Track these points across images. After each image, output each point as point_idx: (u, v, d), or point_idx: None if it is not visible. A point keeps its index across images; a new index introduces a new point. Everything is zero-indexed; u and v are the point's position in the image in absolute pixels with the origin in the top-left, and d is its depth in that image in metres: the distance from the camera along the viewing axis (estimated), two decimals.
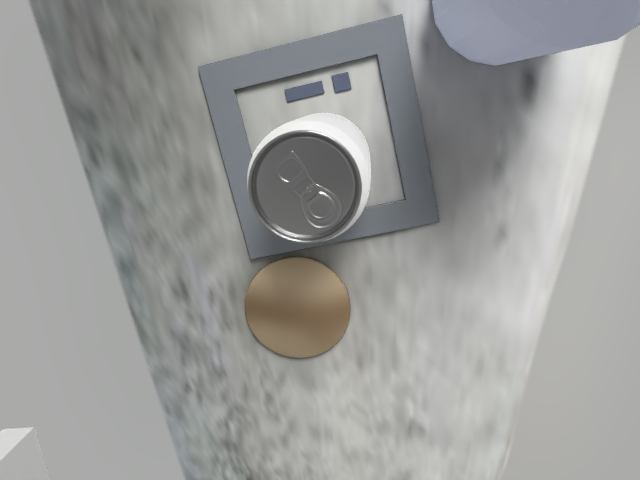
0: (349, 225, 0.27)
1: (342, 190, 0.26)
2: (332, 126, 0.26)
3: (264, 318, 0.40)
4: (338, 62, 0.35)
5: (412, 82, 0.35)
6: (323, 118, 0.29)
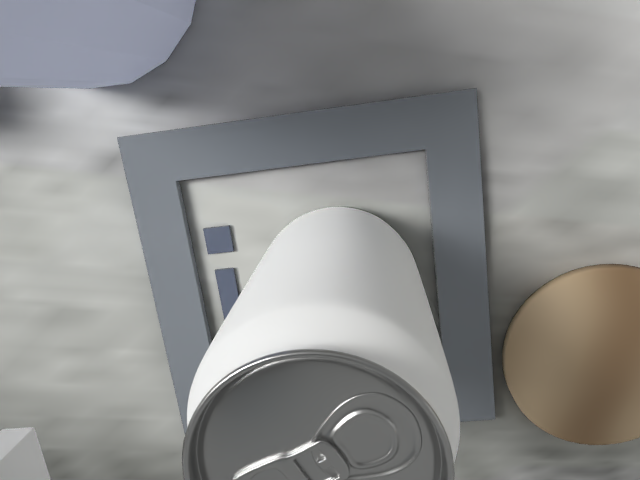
0: (427, 364, 0.11)
1: (330, 387, 0.11)
2: (199, 368, 0.12)
3: (611, 416, 0.22)
4: (186, 243, 0.22)
5: (222, 126, 0.21)
6: None
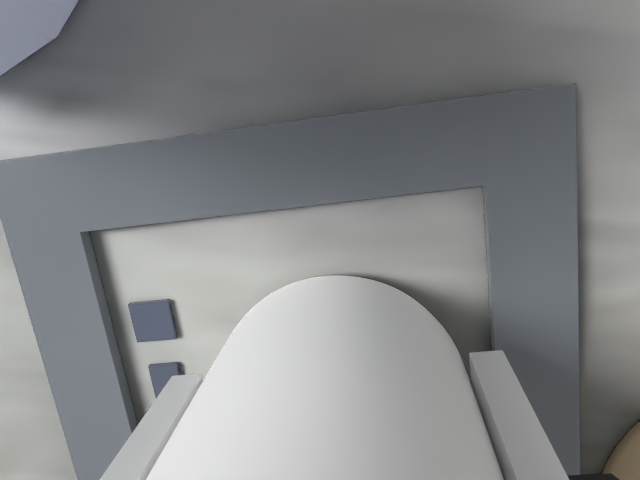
0: None
1: None
2: None
3: None
4: (102, 326, 0.14)
5: (150, 145, 0.13)
6: None
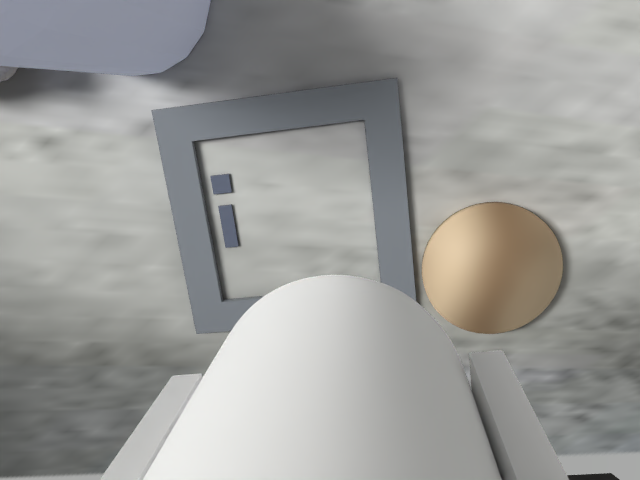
0: None
1: None
2: None
3: (498, 312, 0.32)
4: (198, 185, 0.31)
5: (224, 102, 0.30)
6: None
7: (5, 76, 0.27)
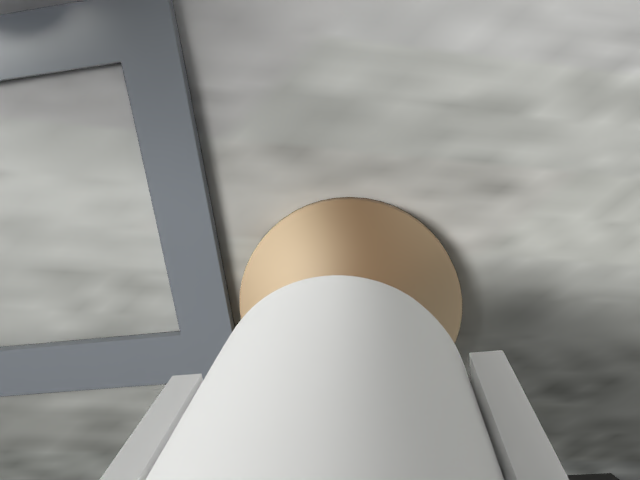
0: None
1: None
2: None
3: None
4: None
5: None
6: None
7: None
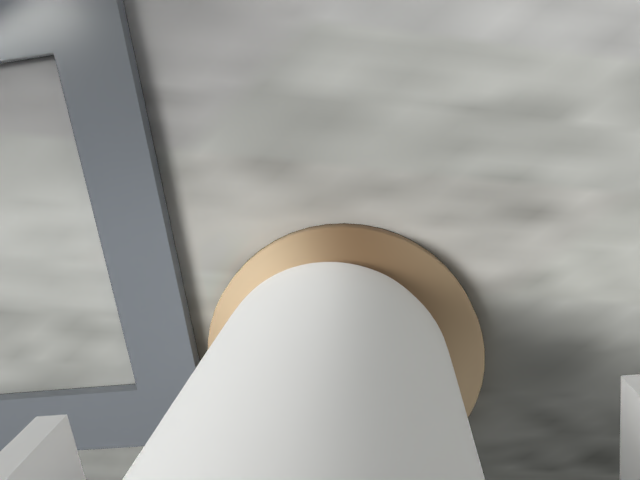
0: None
1: None
2: None
3: None
4: None
5: None
6: None
7: None
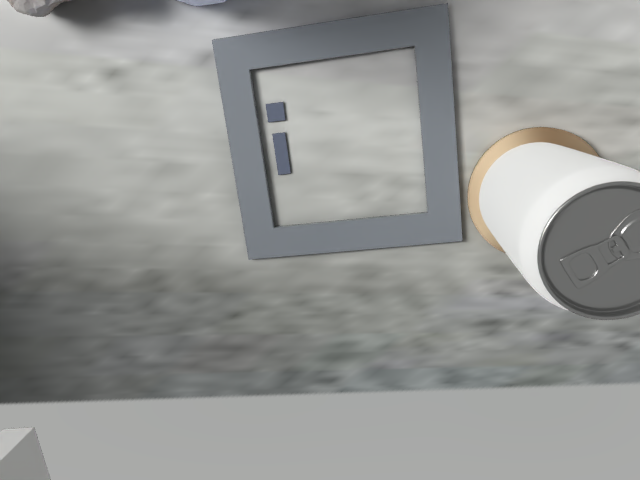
0: None
1: (624, 205, 0.20)
2: (533, 205, 0.22)
3: None
4: (254, 113, 0.33)
5: (281, 31, 0.32)
6: (511, 208, 0.24)
7: None
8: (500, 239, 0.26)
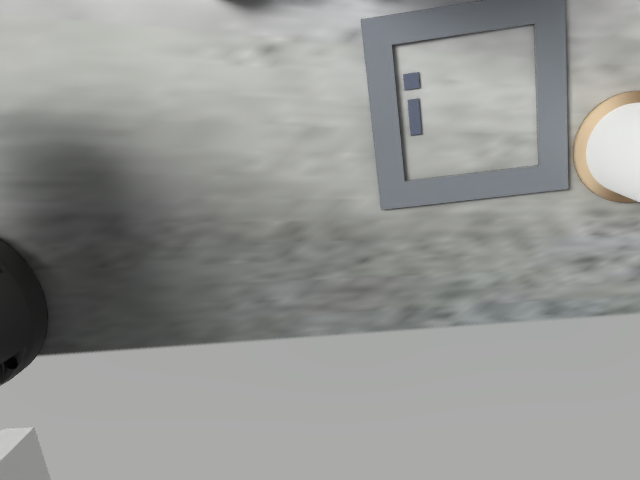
0: None
1: None
2: None
3: None
4: (394, 82, 0.39)
5: (421, 11, 0.37)
6: None
7: None
8: (625, 176, 0.33)
